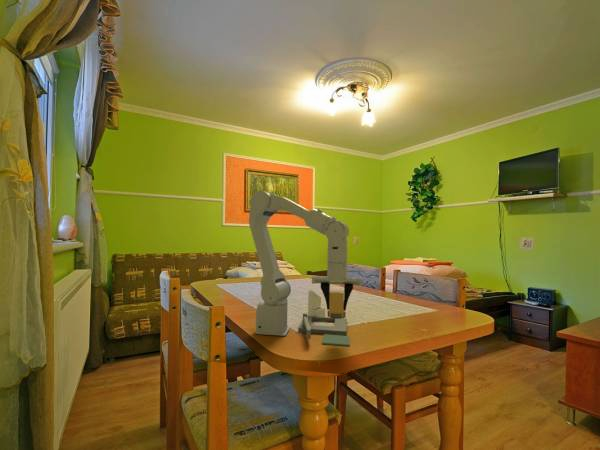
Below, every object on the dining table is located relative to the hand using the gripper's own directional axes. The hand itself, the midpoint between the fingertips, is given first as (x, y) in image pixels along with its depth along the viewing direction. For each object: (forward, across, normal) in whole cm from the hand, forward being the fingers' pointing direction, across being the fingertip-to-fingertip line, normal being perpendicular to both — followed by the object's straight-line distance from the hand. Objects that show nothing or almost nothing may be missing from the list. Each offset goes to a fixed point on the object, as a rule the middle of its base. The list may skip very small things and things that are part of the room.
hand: (336, 309), depth 84 cm
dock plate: (+9, +4, -12) cm, 16 cm away
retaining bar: (+8, +9, -3) cm, 12 cm away
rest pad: (+9, 0, 0) cm, 9 cm away
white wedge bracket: (+9, +8, -23) cm, 26 cm away
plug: (+2, 0, 0) cm, 2 cm away
